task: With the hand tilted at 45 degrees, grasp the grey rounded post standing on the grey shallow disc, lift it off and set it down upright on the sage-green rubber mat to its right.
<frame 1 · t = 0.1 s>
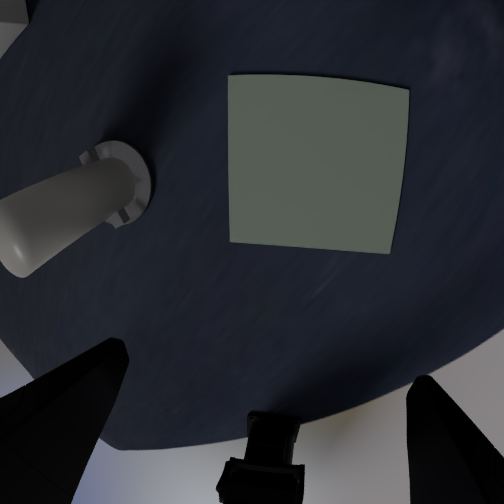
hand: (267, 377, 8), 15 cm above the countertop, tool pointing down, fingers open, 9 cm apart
grey shallow disc: (116, 182, 22), on the countertop
mat: (317, 164, 19), on the countertop
grey rounded post: (112, 184, 21), point 1 cm above the countertop, touching grey shallow disc
medicine bottle: (10, 25, 15), on the countertop
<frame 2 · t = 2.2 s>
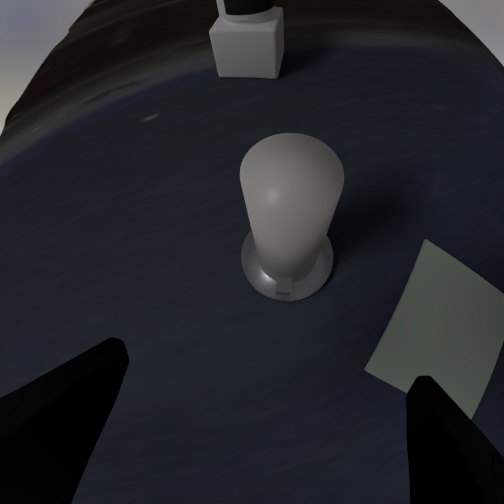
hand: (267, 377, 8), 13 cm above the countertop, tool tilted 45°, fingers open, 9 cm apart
grey shallow disc: (287, 257, 23), on the countertop
mat: (452, 334, 19), on the countertop
grey rounded post: (287, 255, 22), point 1 cm above the countertop, touching grey shallow disc
medicine bottle: (253, 64, 32), on the countertop
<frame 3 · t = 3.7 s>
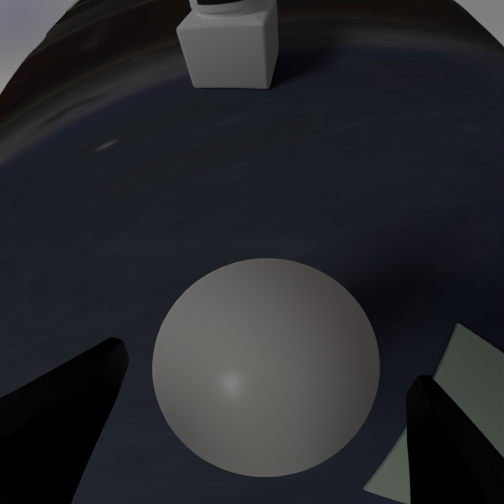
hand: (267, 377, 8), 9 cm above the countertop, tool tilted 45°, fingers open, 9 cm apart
mat: (473, 435, 12), on the countertop
grey rounded post: (273, 360, 15), point 1 cm above the countertop, touching grey shallow disc
medicine bottle: (238, 69, 25), on the countertop
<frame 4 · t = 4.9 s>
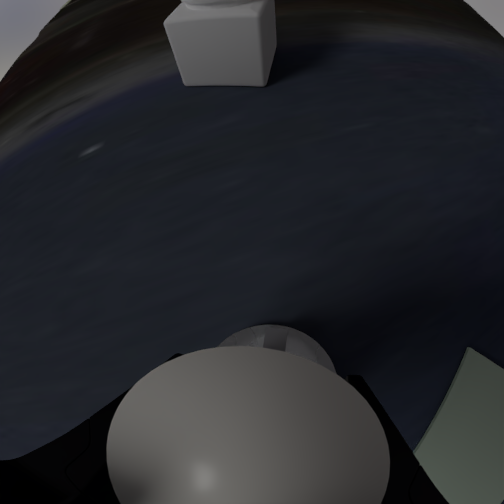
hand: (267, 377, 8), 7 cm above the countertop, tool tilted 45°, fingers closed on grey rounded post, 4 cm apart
grey shallow disc: (269, 390, 14), on the countertop
mat: (478, 460, 11), on the countertop
grey rounded post: (268, 392, 14), point 1 cm above the countertop, touching gripper, grey shallow disc
medicine bottle: (233, 65, 23), on the countertop
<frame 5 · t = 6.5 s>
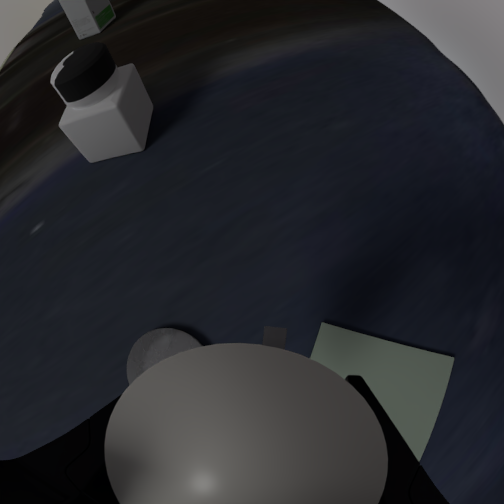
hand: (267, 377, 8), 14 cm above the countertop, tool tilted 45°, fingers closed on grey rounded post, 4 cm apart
grey shallow disc: (169, 372, 21), on the countertop
mat: (369, 417, 18), on the countertop
grey rounded post: (267, 391, 14), point 7 cm above the countertop, touching gripper
skincare box: (98, 28, 44), on the countertop
medicine bottle: (122, 135, 30), on the countertop
when the fingers open (8 cm above the countertop, at t = 8.3 s): grey rounded post drops 1 cm, resting on mat.
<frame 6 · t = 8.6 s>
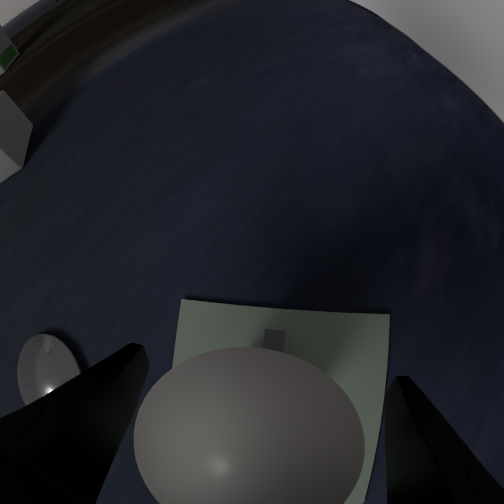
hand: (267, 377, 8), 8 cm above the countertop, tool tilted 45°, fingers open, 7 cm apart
grey shallow disc: (51, 382, 16), on the countertop
mat: (275, 414, 14), on the countertop
grey rounded post: (267, 389, 15), resting on mat
skincare box: (4, 69, 37), on the countertop
medicine bottle: (10, 159, 24), on the countertop
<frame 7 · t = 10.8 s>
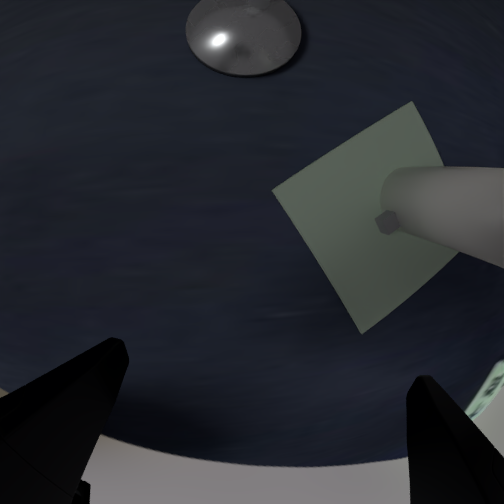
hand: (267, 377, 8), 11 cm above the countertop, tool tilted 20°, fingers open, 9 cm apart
grey shallow disc: (243, 30, 14), on the countertop
mat: (392, 218, 18), on the countertop
grey rounded post: (406, 199, 18), resting on mat
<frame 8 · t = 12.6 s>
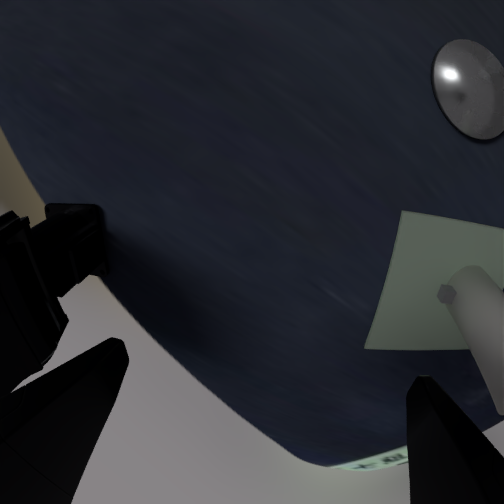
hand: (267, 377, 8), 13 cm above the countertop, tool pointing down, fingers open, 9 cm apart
grey shallow disc: (473, 88, 13), on the countertop
mat: (448, 292, 20), on the countertop
grey rounded post: (466, 289, 19), resting on mat
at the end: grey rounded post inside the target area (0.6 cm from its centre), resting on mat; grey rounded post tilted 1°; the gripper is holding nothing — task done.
